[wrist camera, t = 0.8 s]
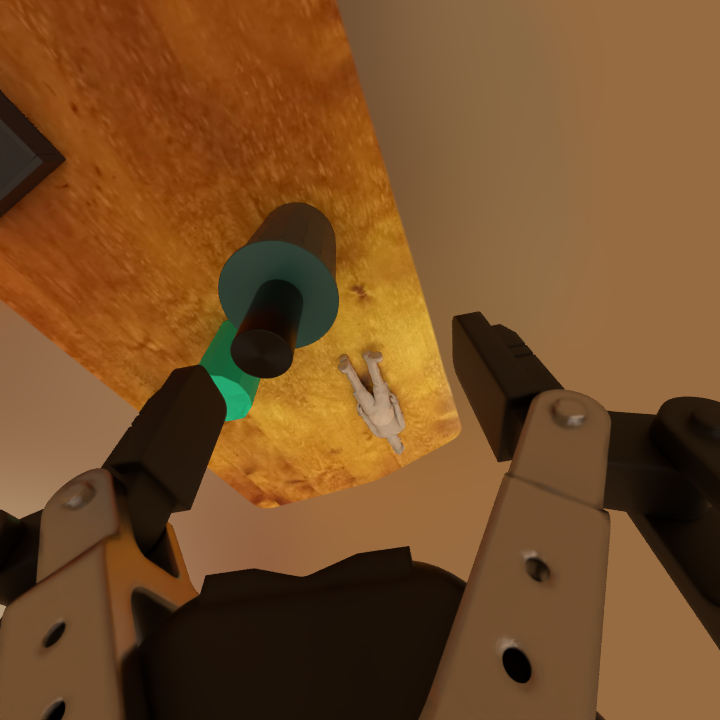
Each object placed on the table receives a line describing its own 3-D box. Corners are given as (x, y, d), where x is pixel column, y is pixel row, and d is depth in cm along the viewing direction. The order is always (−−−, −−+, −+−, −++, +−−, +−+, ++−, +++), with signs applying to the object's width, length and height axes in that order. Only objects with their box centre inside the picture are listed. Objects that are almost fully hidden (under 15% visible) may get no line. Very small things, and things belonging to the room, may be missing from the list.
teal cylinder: (247, 227, 30) (201, 278, 20) (309, 186, 28) (293, 220, 18) (291, 287, 33) (271, 356, 23) (348, 255, 32) (353, 314, 22)
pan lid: (197, 273, 20) (141, 332, 14) (295, 210, 18) (276, 249, 12) (272, 356, 24) (252, 427, 18) (358, 312, 22) (365, 375, 17)
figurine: (381, 356, 35) (427, 454, 44) (381, 338, 38) (423, 432, 48) (325, 375, 37) (380, 465, 46) (329, 356, 40) (380, 444, 49)
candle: (215, 352, 38) (173, 429, 28) (220, 309, 34) (175, 380, 25) (265, 364, 39) (242, 441, 30) (275, 324, 36) (252, 397, 26)
